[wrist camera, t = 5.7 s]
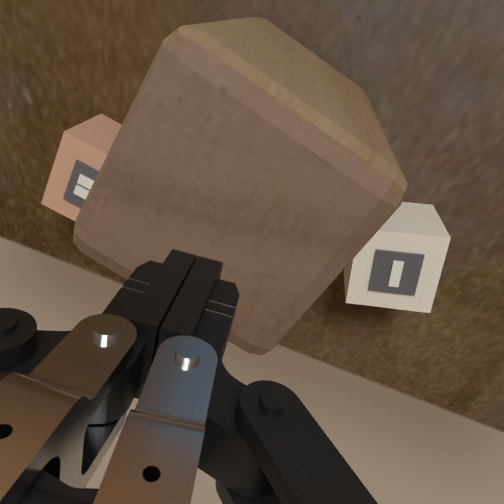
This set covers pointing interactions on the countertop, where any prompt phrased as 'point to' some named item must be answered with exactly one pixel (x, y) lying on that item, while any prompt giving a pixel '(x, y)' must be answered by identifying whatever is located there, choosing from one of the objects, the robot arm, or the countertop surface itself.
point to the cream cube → (400, 261)
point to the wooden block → (244, 172)
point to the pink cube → (79, 164)
